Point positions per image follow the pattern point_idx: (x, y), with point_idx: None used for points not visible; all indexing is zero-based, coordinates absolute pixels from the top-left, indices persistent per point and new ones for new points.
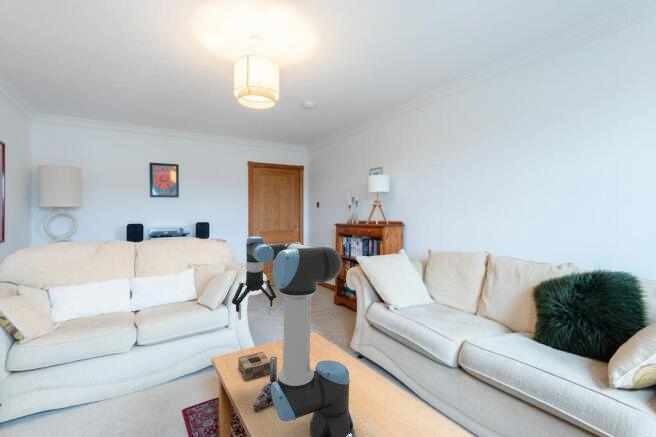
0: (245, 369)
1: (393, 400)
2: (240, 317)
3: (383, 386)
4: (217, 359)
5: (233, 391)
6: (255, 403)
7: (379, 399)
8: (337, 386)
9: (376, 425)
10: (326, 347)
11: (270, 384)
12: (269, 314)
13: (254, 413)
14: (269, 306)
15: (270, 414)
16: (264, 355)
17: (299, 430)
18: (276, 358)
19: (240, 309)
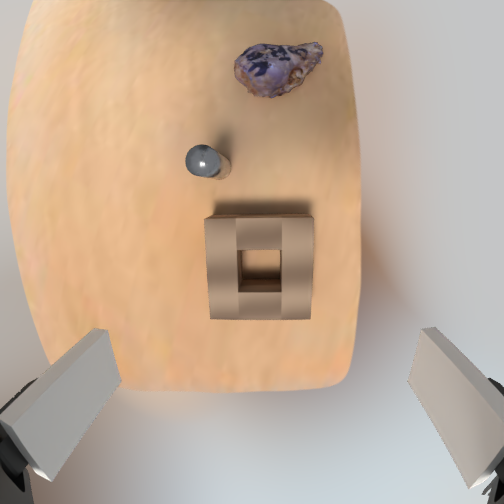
0: (312, 217)
1: (41, 22)
2: (438, 338)
3: (23, 62)
4: (346, 374)
5: (356, 168)
6: (318, 48)
7: (53, 25)
8: None
9: None
10: (31, 280)
11: (259, 63)
12: (101, 329)
13: None
14: (50, 376)
15: (282, 26)
16: (212, 286)
17: None
18: (189, 152)
19: (486, 392)
